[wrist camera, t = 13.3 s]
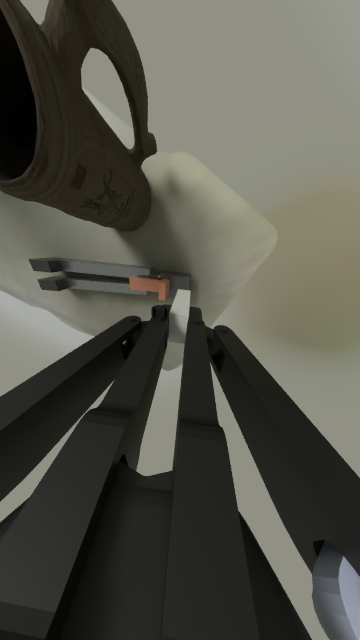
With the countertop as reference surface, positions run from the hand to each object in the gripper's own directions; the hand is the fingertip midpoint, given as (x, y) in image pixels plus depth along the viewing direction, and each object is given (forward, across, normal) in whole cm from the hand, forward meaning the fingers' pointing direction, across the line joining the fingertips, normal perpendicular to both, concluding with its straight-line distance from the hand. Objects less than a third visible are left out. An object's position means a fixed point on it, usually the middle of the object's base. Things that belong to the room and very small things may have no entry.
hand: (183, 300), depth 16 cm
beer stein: (+16, -12, +15) cm, 25 cm away
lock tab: (+11, -7, -2) cm, 14 cm away
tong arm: (+16, -20, -4) cm, 26 cm away
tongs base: (+16, -16, -1) cm, 22 cm away
